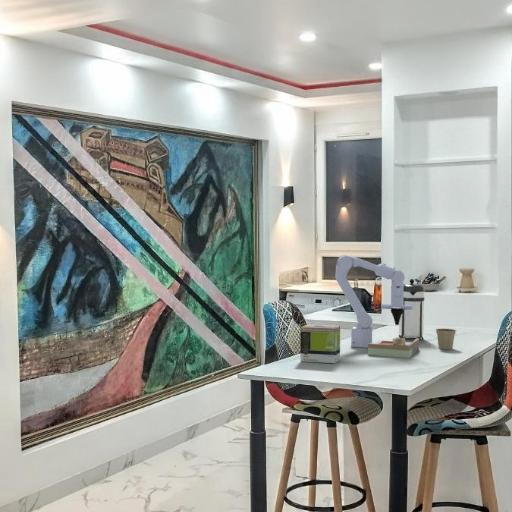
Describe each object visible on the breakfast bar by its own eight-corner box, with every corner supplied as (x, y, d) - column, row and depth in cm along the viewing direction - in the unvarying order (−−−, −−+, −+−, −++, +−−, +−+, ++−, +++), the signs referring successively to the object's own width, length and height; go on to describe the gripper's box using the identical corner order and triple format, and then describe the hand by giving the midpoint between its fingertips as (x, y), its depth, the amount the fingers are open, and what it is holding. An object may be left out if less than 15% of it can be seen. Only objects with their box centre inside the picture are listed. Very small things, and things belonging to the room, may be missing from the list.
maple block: (392, 349, 344) (392, 338, 344) (394, 347, 348) (394, 337, 348) (402, 350, 342) (403, 339, 342) (405, 348, 346) (405, 338, 346)
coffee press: (433, 339, 394) (435, 279, 393) (411, 341, 385) (412, 280, 384) (408, 335, 409) (409, 277, 407) (386, 337, 400) (387, 278, 398)
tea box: (340, 360, 333) (340, 325, 332) (334, 364, 324) (335, 328, 323) (306, 358, 338) (306, 323, 337) (299, 361, 329) (299, 326, 328)
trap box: (368, 354, 347) (368, 343, 347) (379, 346, 369) (380, 336, 369) (409, 357, 340) (409, 346, 340) (418, 349, 363) (418, 338, 362)
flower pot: (456, 350, 361) (456, 331, 360) (435, 349, 362) (435, 331, 362) (455, 347, 370) (455, 328, 369) (434, 346, 372) (435, 328, 371)
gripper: (414, 295, 369) (414, 324, 370) (383, 294, 375) (383, 323, 375) (411, 296, 363) (411, 326, 363) (380, 295, 368) (380, 324, 369)
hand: (397, 324), depth 369 cm, fingers closed
